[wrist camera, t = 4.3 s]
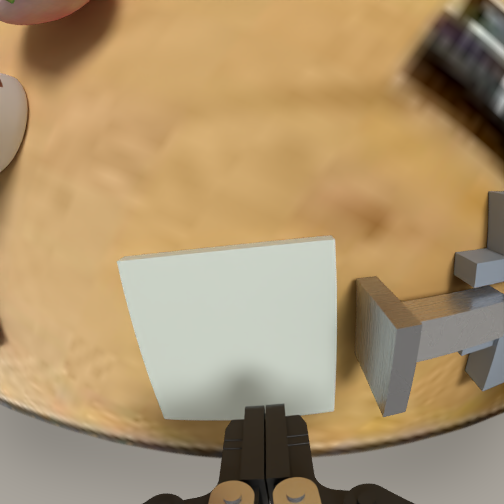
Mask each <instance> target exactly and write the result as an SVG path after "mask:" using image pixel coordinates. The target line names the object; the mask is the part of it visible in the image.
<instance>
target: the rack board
mask: <svg viewBox="0 0 504 504" xmlns="http://www.w3.org/2000/svg"><path fill="white" fill-rule="evenodd" d="M117 264H118V268H119V273H120V277H121V281H122V286H123V290H124V294H125V298H126V302H127V306H128V309H129V313H130V317H131V320H132V324H133V327H134V331H135V334H136V338H137V341H138V344H139V348H140V351H141V354H142V357H143V360H144V363H145V366H146V369H147V372H148V375H149V378H150V381H151V384H152V387H153V389H154V392H155V395H156V398H157V400H158V403H159V406H160V408H161V411H162V413H163V416H164V418H165V419H174V420H237V419H244V413H245V406H259V405H264V406H265V413H266V405H271V404H282V403H284V405H285V416H291V415H309V414H317V413H324V412H331V411H334V402H335V382H336V351H337V284H336V252H335V239H334V238H333V237H332V236H331V235H330V236H319V237H309V238H299V239H289V240H279V241H269V242H259V243H249V244H239V245H229V246H219V247H210V248H200V249H190V250H181V251H172V252H162V253H153V254H144V255H135V256H125V257H123V258H121V259H120V260H118V261H117Z"/></svg>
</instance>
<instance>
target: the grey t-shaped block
mask: <svg viewBox="0 0 504 504" xmlns="http://www.w3.org/2000/svg"><path fill="white" fill-rule="evenodd" d="M503 335H504V294H502V293H501V292H499V291H498V290H496V289H494V288H493V287H491V286H489V285H487V286H482V287H478V288H473V289H469V290H464V291H459V292H454V293H449V294H444V295H438V296H433V297H428V298H422V299H416V300H411V301H405V302H401V301H400V300H399V299H398V298H397V297H396V296H395V295H394V294H393V293H392V292H391V291H390V290H389V289H388V288H387V287H386V286H385V285H384V284H383V283H382V282H381V281H380V280H379V279H378V278H377V277H376V276H374V277H366V278H358V279H357V301H356V335H355V355H356V357H357V359H358V361H359V364H360V366H361V368H362V370H363V372H364V375H365V377H366V379H367V381H368V384H369V386H370V388H371V390H372V393H373V395H374V397H375V399H376V402H377V404H378V406H379V409H380V411H381V413H382V416H383V417H386V416H390V415H394V414H398V413H402V412H405V411H406V407H407V403H408V399H409V395H410V391H411V386H412V381H413V377H414V372H415V367H416V362H420V361H424V360H428V359H432V358H435V357H439V356H443V355H447V354H450V353H454V352H457V351H461V350H464V349H467V348H470V347H474V346H477V345H480V344H483V343H486V342H489V341H492V340H495V339H498V338H501V337H503Z"/></svg>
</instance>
